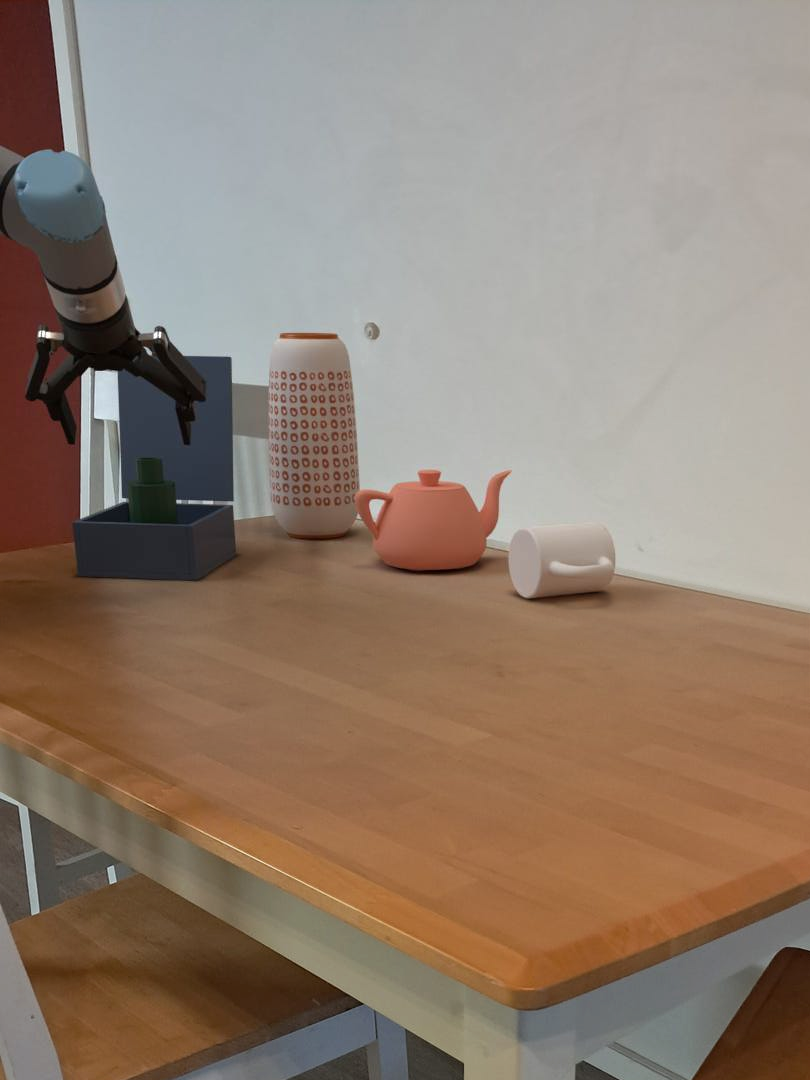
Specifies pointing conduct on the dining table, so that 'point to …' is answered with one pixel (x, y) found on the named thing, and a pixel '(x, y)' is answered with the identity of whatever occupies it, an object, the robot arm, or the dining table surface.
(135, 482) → the bottle
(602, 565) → the mug
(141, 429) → the chest lid
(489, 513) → the teapot
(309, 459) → the white patterned vase
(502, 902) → the dining table surface
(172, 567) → the chest
